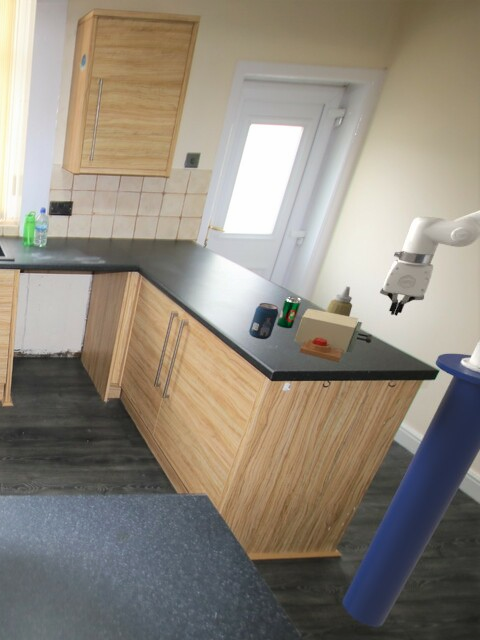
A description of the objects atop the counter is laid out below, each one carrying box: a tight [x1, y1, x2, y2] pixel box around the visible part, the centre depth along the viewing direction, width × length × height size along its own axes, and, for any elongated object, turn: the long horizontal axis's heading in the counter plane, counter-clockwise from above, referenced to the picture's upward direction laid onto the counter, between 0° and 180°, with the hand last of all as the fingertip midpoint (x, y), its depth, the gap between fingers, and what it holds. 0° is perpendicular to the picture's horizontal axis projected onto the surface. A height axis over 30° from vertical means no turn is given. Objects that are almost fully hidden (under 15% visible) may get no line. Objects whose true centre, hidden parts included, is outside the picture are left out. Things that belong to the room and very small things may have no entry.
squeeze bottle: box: [325, 286, 353, 317], centre depth 175 cm, size 8×8×18 cm
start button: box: [313, 338, 327, 346], centre depth 159 cm, size 4×4×2 cm
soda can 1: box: [248, 302, 279, 340], centre depth 170 cm, size 7×7×12 cm
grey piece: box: [346, 321, 373, 353], centre depth 164 cm, size 18×12×8 cm, turn 49°
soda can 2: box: [276, 296, 302, 329], centre depth 179 cm, size 5×5×12 cm
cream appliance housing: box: [293, 308, 359, 355], centre depth 167 cm, size 15×13×10 cm
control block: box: [298, 340, 343, 363], centre depth 159 cm, size 11×8×4 cm
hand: (394, 314), depth 153 cm, fingers closed
